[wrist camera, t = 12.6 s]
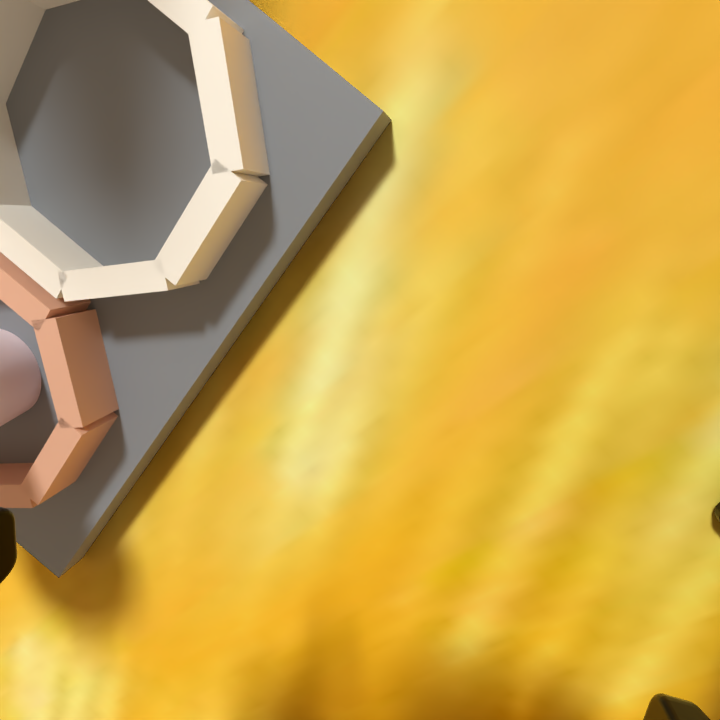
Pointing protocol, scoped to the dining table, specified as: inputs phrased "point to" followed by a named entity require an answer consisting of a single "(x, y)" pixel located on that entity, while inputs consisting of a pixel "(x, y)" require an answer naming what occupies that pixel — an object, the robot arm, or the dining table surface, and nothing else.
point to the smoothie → (17, 377)
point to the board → (146, 225)
